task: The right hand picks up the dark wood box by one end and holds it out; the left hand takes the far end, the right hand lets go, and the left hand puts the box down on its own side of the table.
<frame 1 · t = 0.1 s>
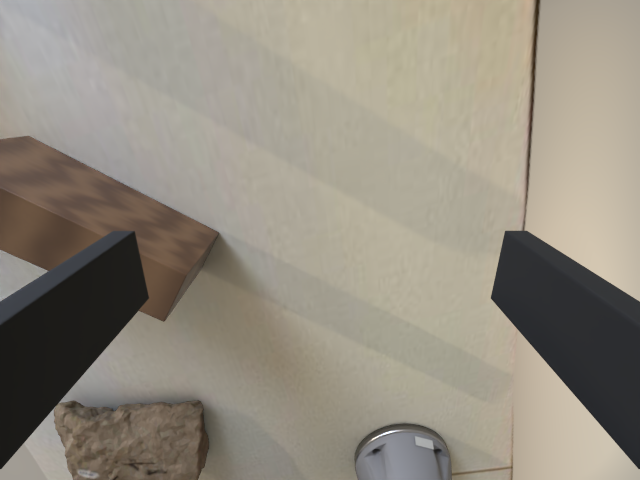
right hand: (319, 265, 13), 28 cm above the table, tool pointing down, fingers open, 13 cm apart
stone: (144, 425, 55), on the table
box: (120, 207, 41), on the table
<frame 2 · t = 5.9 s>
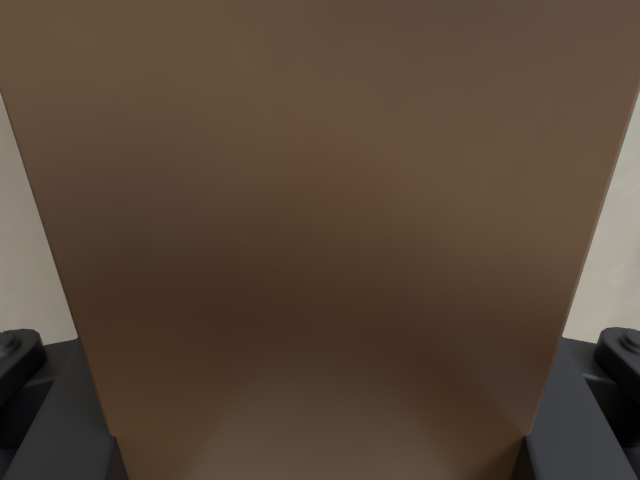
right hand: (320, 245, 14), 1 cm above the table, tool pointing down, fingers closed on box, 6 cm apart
box: (319, 26, 13), on the table, touching right hand
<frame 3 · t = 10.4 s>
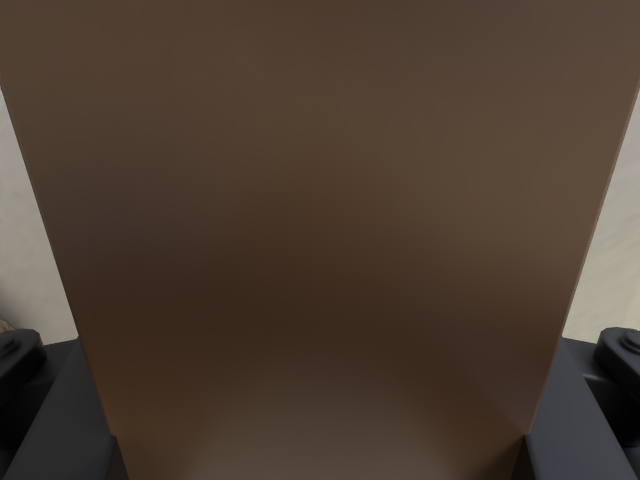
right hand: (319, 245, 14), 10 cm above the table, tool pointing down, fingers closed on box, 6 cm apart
box: (319, 26, 13), point 8 cm above the table, touching right hand, left hand
when the right hand's fingers open (10 cm above the table, at t = 11.5 s): box stays where it is, held by the left hand.
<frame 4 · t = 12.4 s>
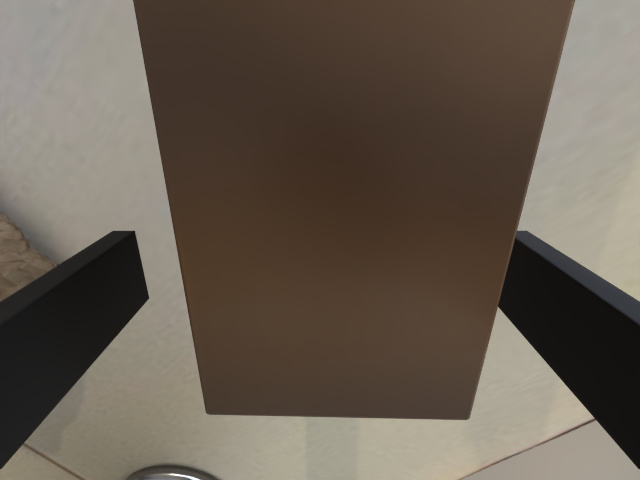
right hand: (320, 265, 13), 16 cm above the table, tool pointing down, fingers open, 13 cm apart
when the left hand's fingers open (8 cm above the table, at t = 20.8 s): box drops 1 cm, on the table.
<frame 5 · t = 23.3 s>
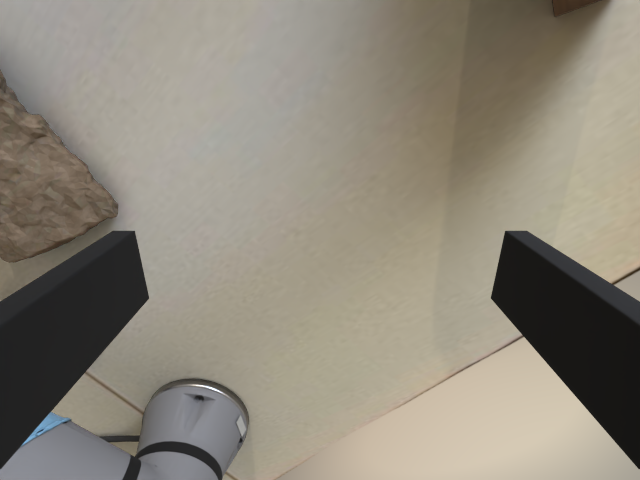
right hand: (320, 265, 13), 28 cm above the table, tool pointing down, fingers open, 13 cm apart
stone: (23, 157, 38), on the table
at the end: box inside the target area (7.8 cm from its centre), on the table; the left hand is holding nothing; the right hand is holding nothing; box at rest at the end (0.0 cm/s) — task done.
